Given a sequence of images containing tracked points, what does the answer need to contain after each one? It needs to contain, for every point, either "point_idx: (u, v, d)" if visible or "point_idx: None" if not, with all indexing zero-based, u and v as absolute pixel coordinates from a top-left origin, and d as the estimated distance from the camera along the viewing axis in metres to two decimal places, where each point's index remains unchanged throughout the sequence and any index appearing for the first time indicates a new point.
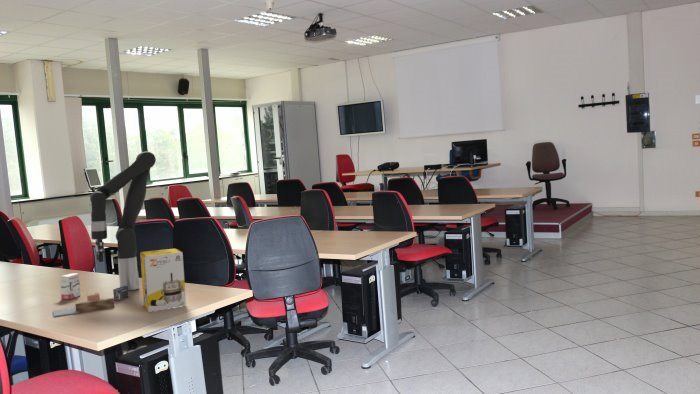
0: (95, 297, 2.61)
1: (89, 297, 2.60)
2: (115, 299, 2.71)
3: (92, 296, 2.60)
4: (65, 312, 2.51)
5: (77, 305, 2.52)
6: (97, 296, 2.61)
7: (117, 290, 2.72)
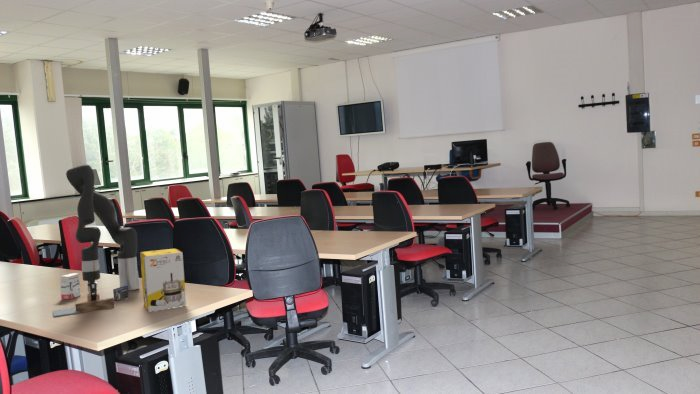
0: None
1: (89, 297, 2.60)
2: (115, 299, 2.71)
3: None
4: (65, 312, 2.51)
5: (77, 305, 2.52)
6: (97, 296, 2.61)
7: (117, 290, 2.72)
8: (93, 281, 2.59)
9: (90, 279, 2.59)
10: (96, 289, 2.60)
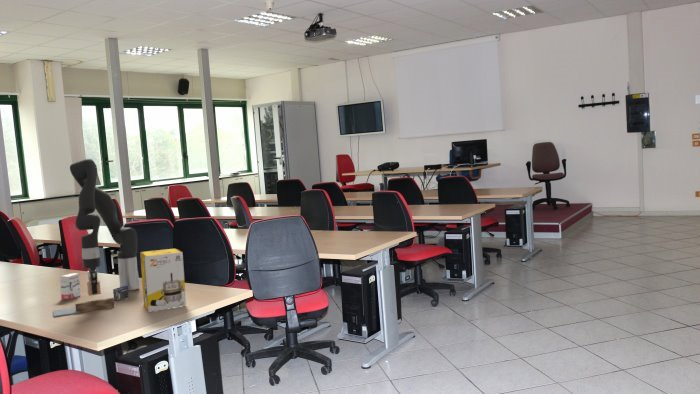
0: None
1: (89, 284, 2.59)
2: (115, 299, 2.71)
3: None
4: (65, 312, 2.51)
5: (77, 305, 2.52)
6: None
7: (117, 290, 2.72)
8: (93, 268, 2.59)
9: (90, 266, 2.58)
10: None
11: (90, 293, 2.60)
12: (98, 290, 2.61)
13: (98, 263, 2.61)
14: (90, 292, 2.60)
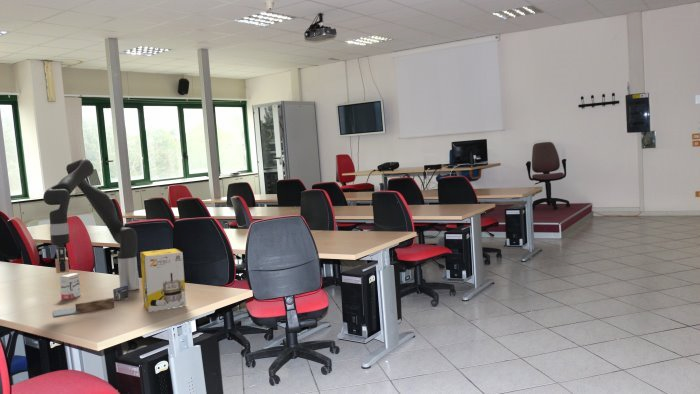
0: None
1: (57, 261, 2.49)
2: (115, 299, 2.71)
3: None
4: (65, 312, 2.51)
5: (77, 305, 2.52)
6: (66, 261, 2.51)
7: (117, 290, 2.72)
8: (62, 245, 2.49)
9: (58, 243, 2.48)
10: (65, 254, 2.50)
11: (58, 271, 2.49)
12: (66, 268, 2.51)
13: (67, 240, 2.51)
14: (58, 270, 2.49)
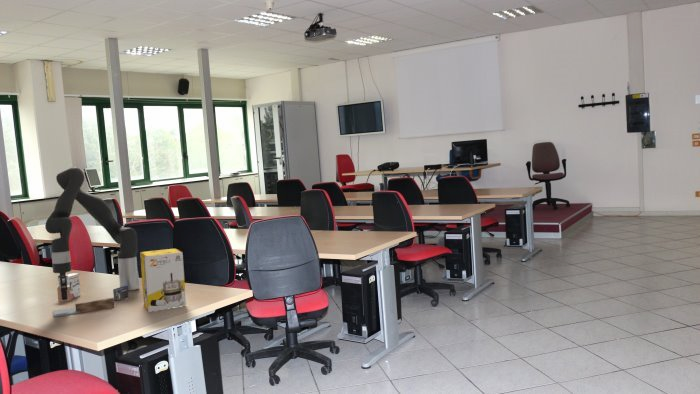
0: None
1: (59, 290, 2.50)
2: (115, 299, 2.71)
3: None
4: (65, 312, 2.51)
5: (77, 305, 2.52)
6: None
7: (117, 290, 2.72)
8: (63, 273, 2.50)
9: (60, 271, 2.49)
10: (67, 283, 2.51)
11: (60, 299, 2.50)
12: (68, 296, 2.52)
13: (69, 268, 2.52)
14: (60, 298, 2.50)
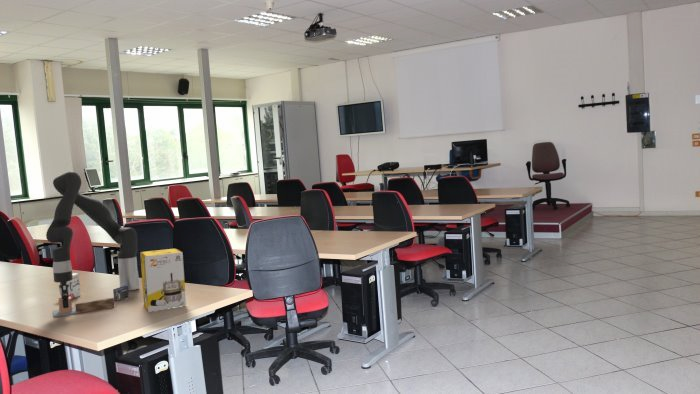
0: None
1: (60, 301, 2.50)
2: (115, 299, 2.71)
3: None
4: None
5: (77, 305, 2.52)
6: (69, 300, 2.52)
7: (117, 290, 2.72)
8: (65, 282, 2.50)
9: (61, 280, 2.49)
10: (68, 291, 2.51)
11: (61, 310, 2.50)
12: (69, 307, 2.52)
13: (70, 277, 2.52)
14: (61, 309, 2.50)
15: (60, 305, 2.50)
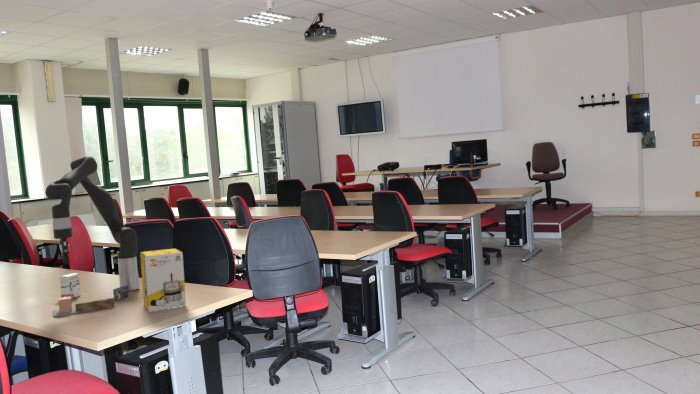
0: (67, 301, 2.51)
1: (60, 301, 2.50)
2: (115, 299, 2.71)
3: (63, 300, 2.51)
4: None
5: (77, 305, 2.52)
6: (69, 300, 2.52)
7: (117, 290, 2.72)
8: (65, 239, 2.51)
9: (62, 237, 2.51)
10: (68, 247, 2.52)
11: (61, 310, 2.50)
12: (69, 307, 2.52)
13: (70, 234, 2.53)
14: (61, 309, 2.50)
15: (60, 305, 2.50)
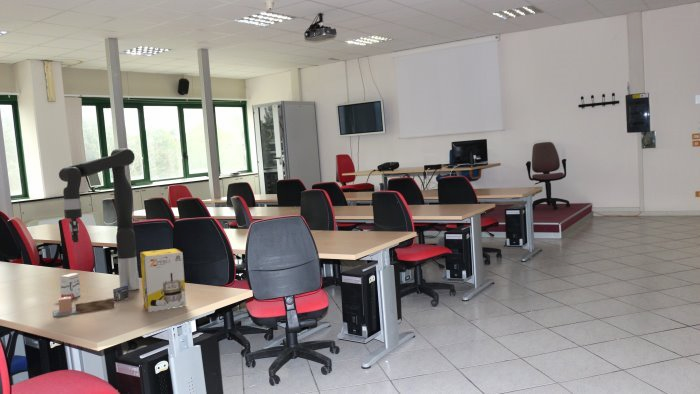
0: (67, 301, 2.51)
1: (60, 301, 2.50)
2: (115, 299, 2.71)
3: (63, 300, 2.51)
4: None
5: (77, 305, 2.52)
6: (69, 300, 2.52)
7: (117, 290, 2.72)
8: (75, 219, 2.68)
9: (72, 217, 2.68)
10: (78, 227, 2.69)
11: (61, 310, 2.50)
12: (69, 307, 2.52)
13: (79, 214, 2.70)
14: (61, 309, 2.50)
15: (60, 305, 2.50)
